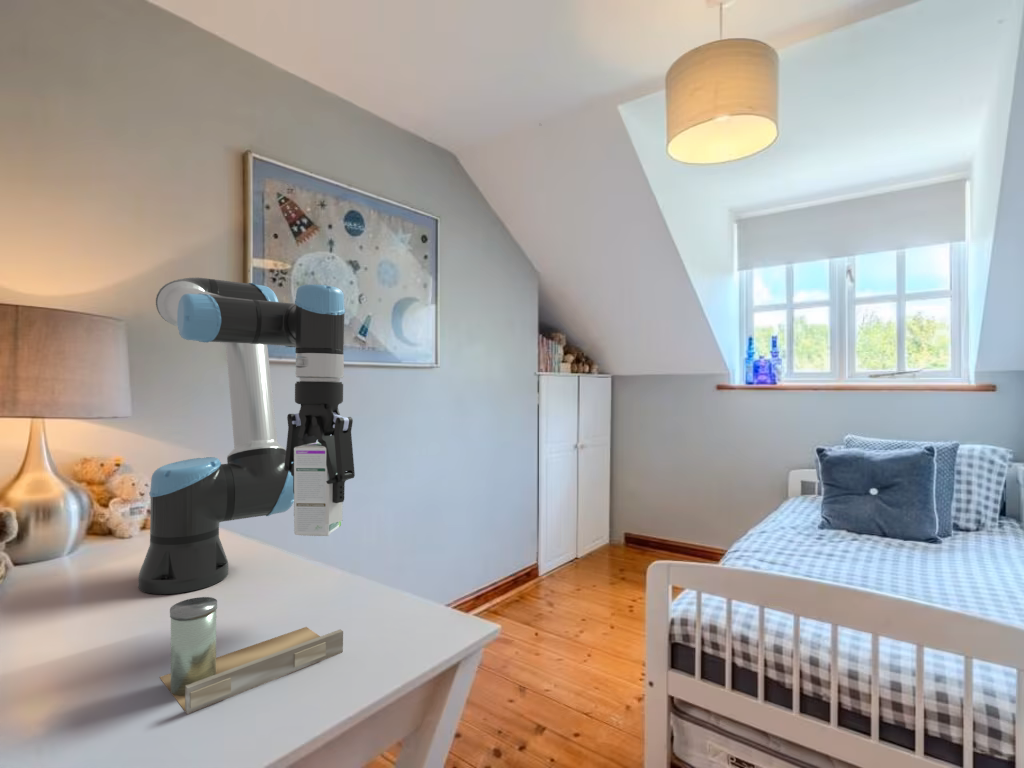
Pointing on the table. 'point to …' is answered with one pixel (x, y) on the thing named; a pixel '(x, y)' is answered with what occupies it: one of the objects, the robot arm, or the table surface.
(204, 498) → the robot arm
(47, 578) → the table surface
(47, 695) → the table surface
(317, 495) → the syrup box
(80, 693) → the table surface
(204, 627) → the sage tin
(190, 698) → the shelf board
